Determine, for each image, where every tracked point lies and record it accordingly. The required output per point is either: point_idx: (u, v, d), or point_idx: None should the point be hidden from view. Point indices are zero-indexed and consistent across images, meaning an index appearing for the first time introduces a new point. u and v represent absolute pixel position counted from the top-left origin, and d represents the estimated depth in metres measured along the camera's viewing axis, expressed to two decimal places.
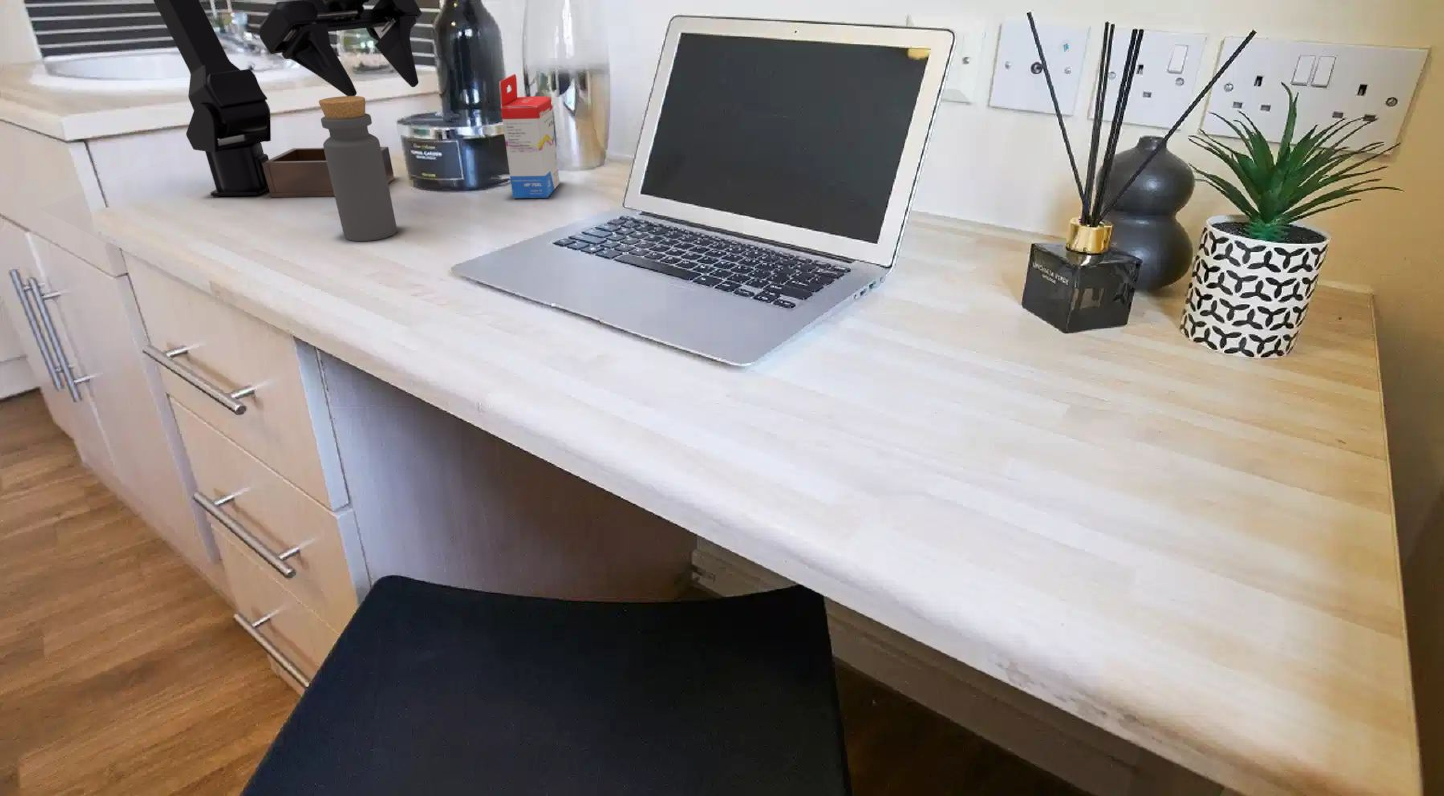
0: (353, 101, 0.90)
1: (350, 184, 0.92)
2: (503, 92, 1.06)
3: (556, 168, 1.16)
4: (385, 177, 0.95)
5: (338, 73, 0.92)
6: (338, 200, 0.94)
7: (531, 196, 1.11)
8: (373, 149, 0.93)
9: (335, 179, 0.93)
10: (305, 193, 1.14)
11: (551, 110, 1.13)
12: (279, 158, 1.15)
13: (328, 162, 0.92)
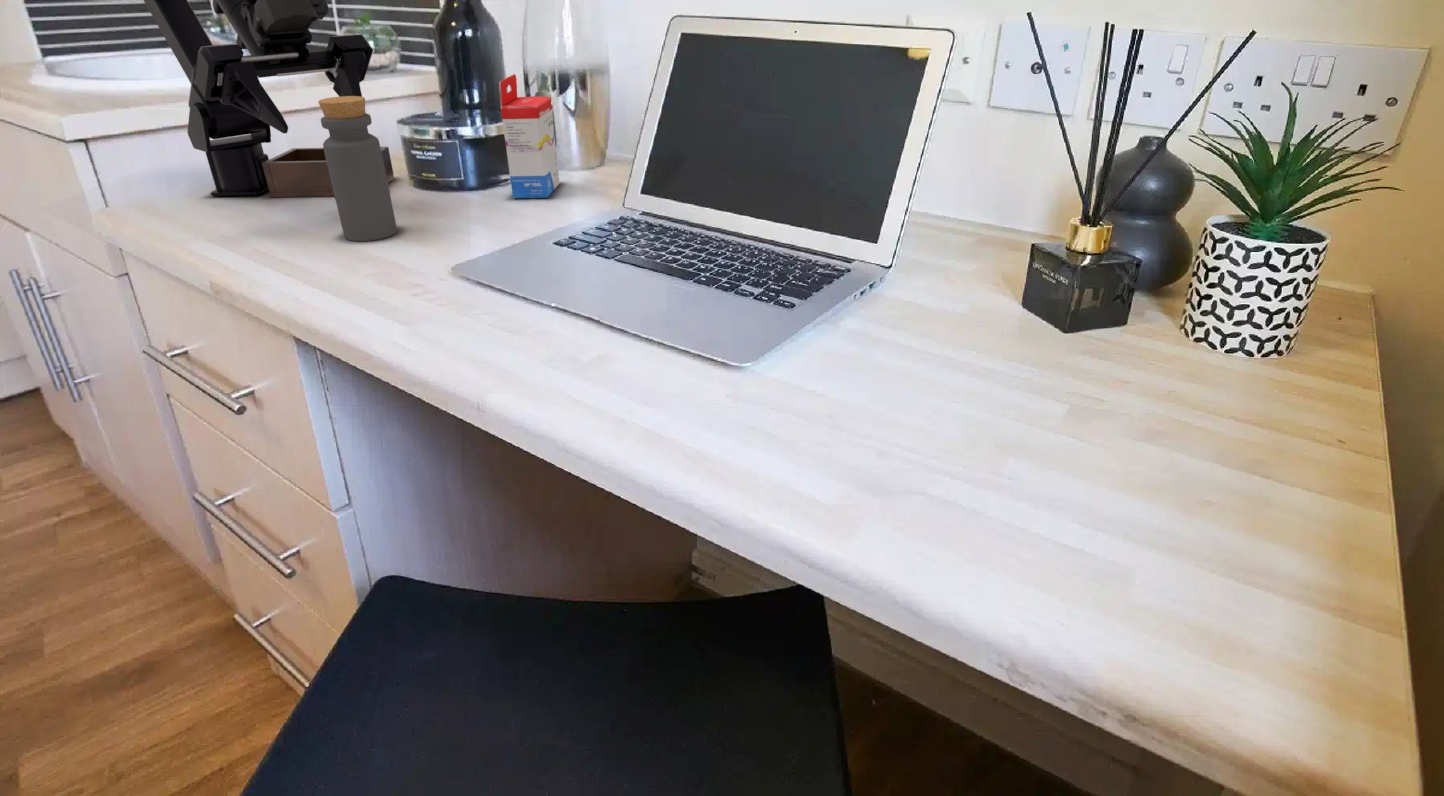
0: (353, 101, 0.90)
1: (350, 184, 0.92)
2: (503, 92, 1.06)
3: (556, 168, 1.16)
4: (385, 177, 0.95)
5: (267, 109, 0.91)
6: (338, 200, 0.94)
7: (531, 196, 1.11)
8: (372, 149, 0.93)
9: (335, 179, 0.93)
10: (305, 193, 1.14)
11: (551, 110, 1.13)
12: (279, 158, 1.15)
13: (328, 162, 0.92)
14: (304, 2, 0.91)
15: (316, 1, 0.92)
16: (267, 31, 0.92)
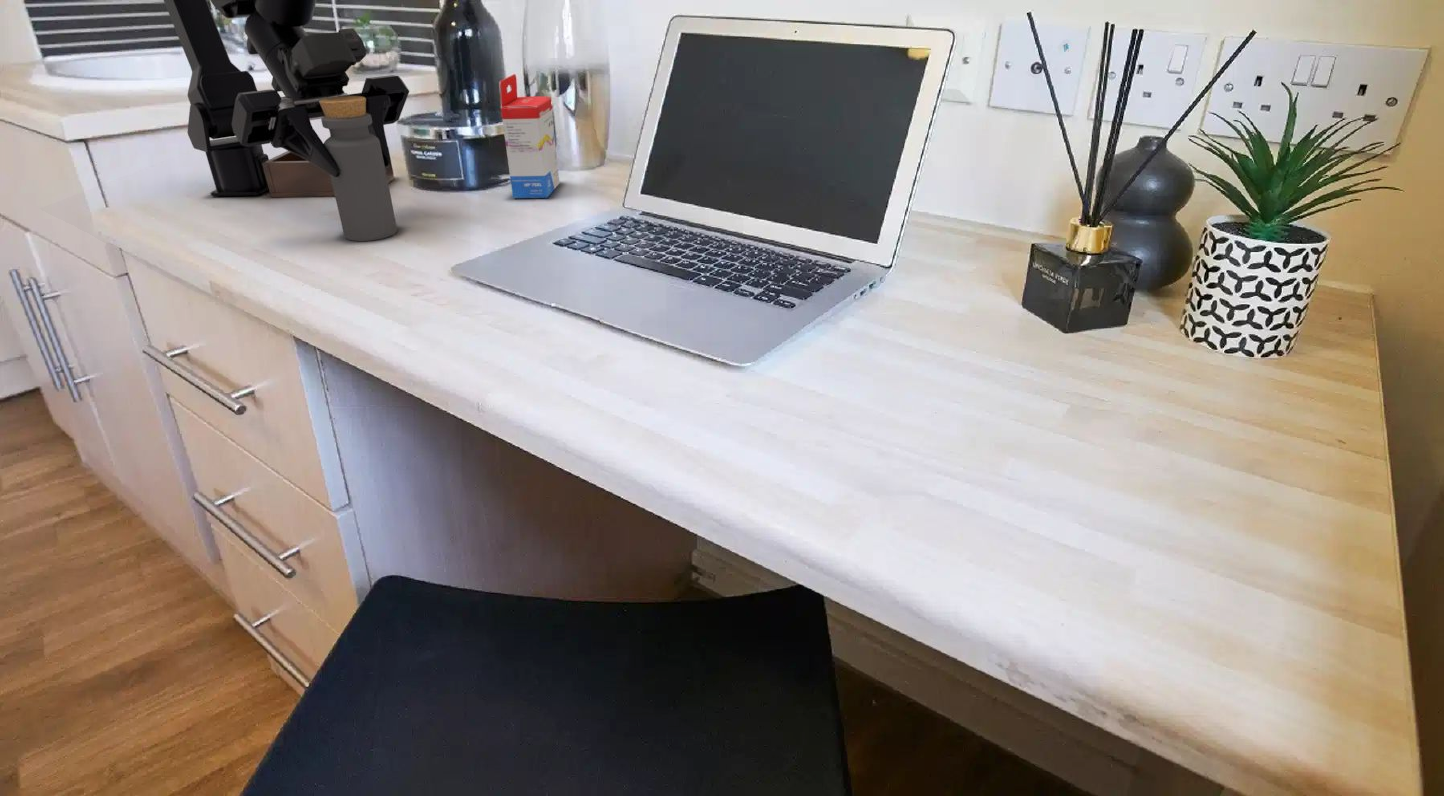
0: (353, 101, 0.90)
1: (351, 184, 0.92)
2: (503, 92, 1.06)
3: (556, 168, 1.16)
4: (385, 177, 0.95)
5: (319, 153, 0.91)
6: (338, 200, 0.94)
7: (531, 196, 1.11)
8: (373, 149, 0.93)
9: (335, 179, 0.93)
10: (305, 193, 1.14)
11: (551, 110, 1.13)
12: (279, 158, 1.15)
13: None
14: (343, 47, 0.89)
15: (355, 45, 0.90)
16: (305, 76, 0.90)
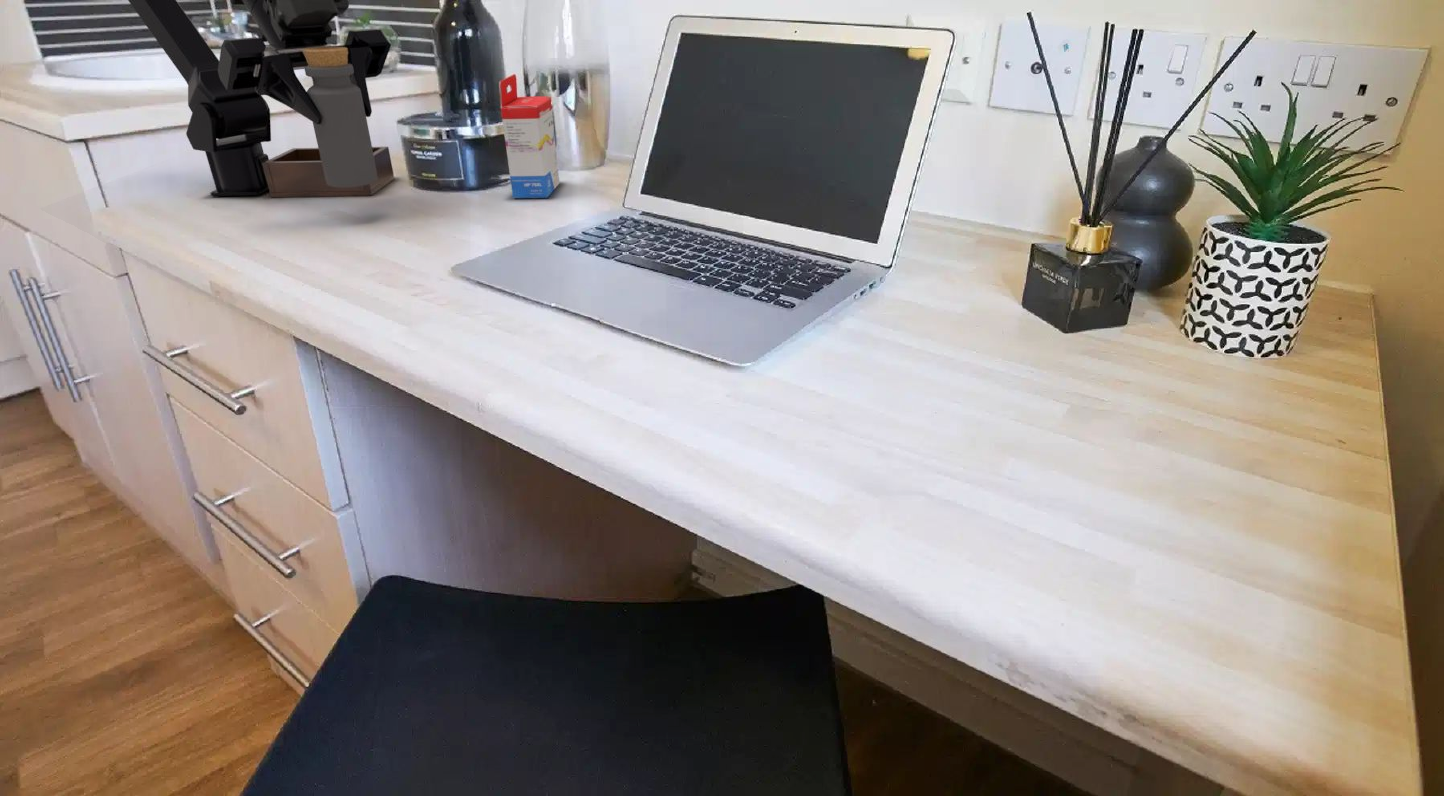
0: (335, 50, 0.93)
1: (332, 131, 0.96)
2: (503, 92, 1.06)
3: (556, 168, 1.16)
4: (366, 126, 0.99)
5: (302, 100, 0.94)
6: (320, 147, 0.98)
7: (531, 196, 1.11)
8: (354, 98, 0.96)
9: (317, 126, 0.96)
10: (305, 193, 1.14)
11: (551, 110, 1.13)
12: (279, 158, 1.15)
13: None
14: None
15: None
16: (289, 25, 0.94)
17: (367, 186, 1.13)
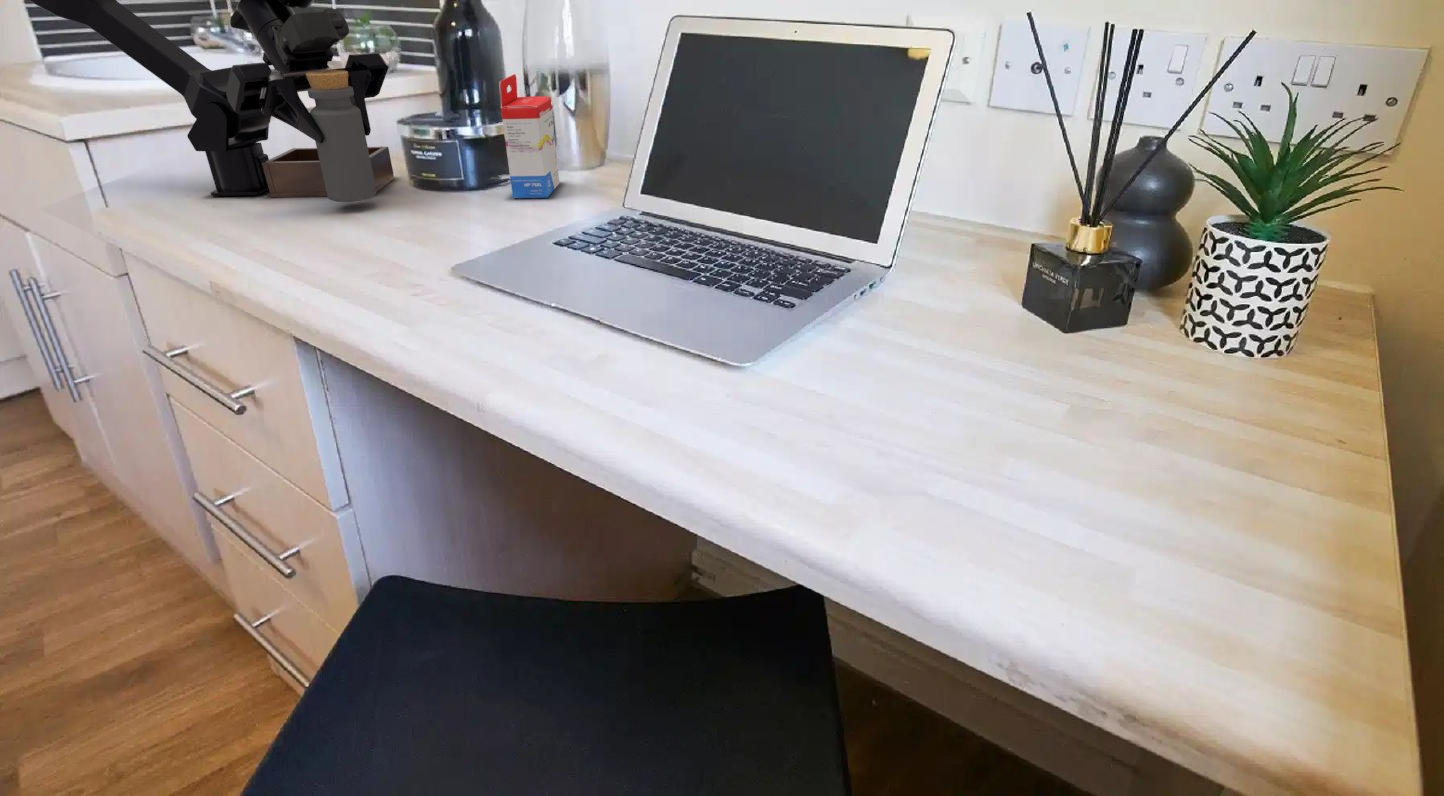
0: (337, 74, 1.00)
1: (334, 150, 1.02)
2: (503, 92, 1.06)
3: (556, 168, 1.16)
4: (365, 144, 1.05)
5: (306, 121, 1.00)
6: (322, 164, 1.04)
7: (531, 196, 1.11)
8: (354, 118, 1.03)
9: (320, 145, 1.03)
10: (305, 193, 1.14)
11: (551, 110, 1.13)
12: (279, 158, 1.15)
13: None
14: (327, 25, 0.99)
15: (338, 24, 1.00)
16: (293, 51, 1.00)
17: None
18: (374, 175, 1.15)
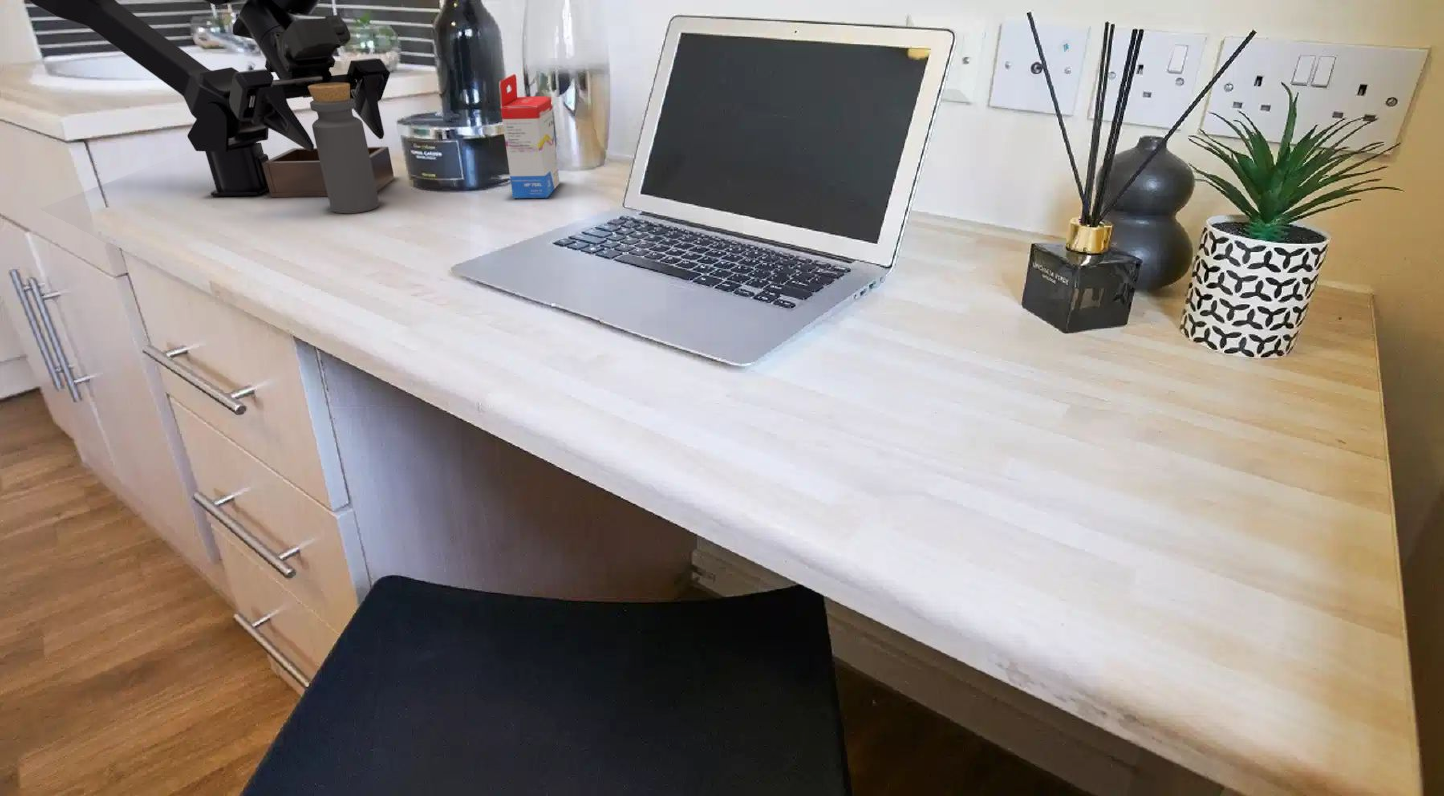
0: (338, 86, 1.00)
1: (336, 161, 1.03)
2: (503, 92, 1.06)
3: (556, 168, 1.16)
4: (368, 156, 1.06)
5: (295, 129, 1.00)
6: (325, 176, 1.04)
7: (531, 196, 1.11)
8: (356, 130, 1.03)
9: (322, 157, 1.03)
10: (305, 193, 1.14)
11: (551, 110, 1.13)
12: (279, 158, 1.15)
13: (317, 141, 1.03)
14: (329, 31, 0.99)
15: (340, 30, 1.01)
16: (295, 57, 1.00)
17: None
18: (374, 175, 1.15)
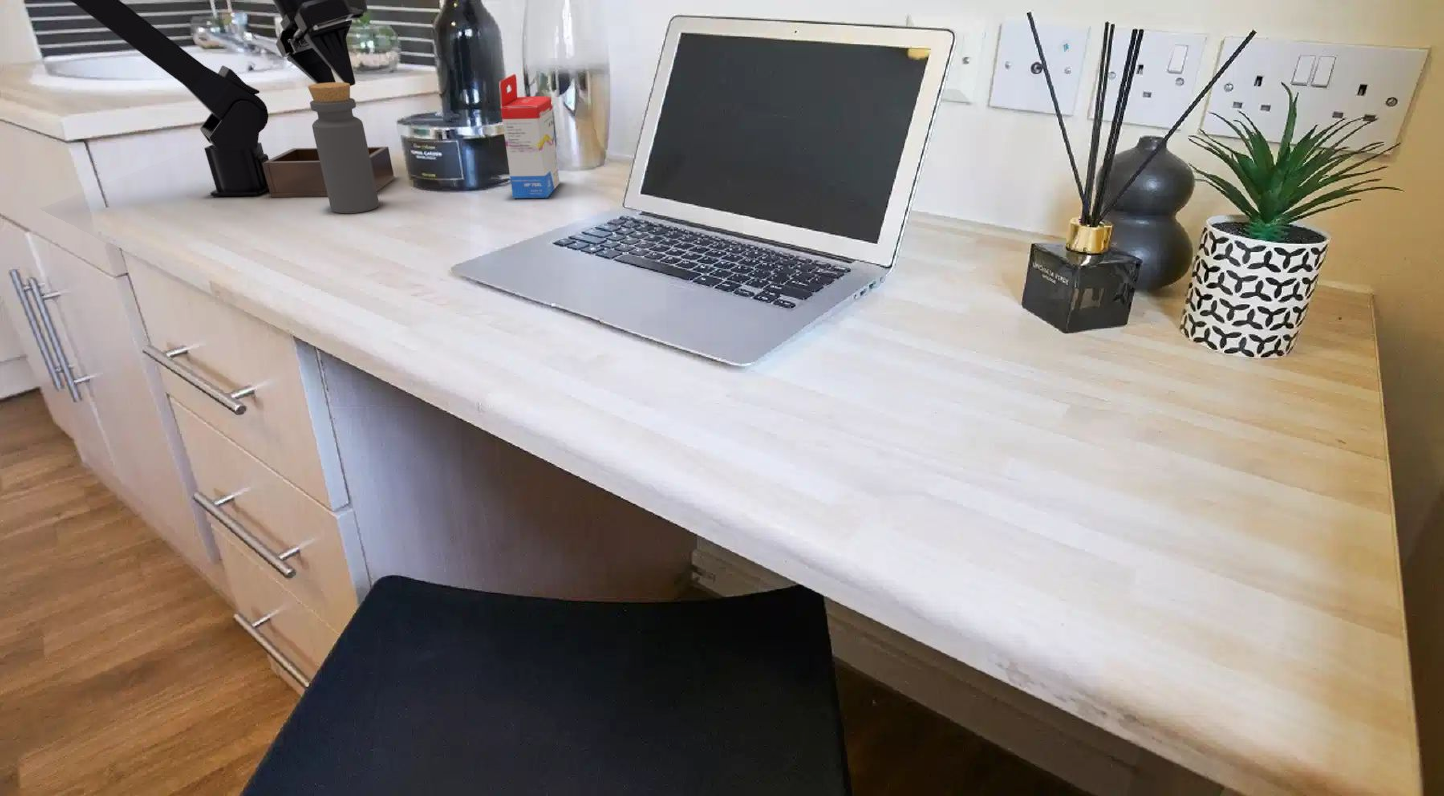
0: (339, 86, 1.00)
1: (336, 161, 1.03)
2: (503, 92, 1.06)
3: (556, 168, 1.16)
4: (368, 156, 1.06)
5: (350, 63, 1.11)
6: (325, 176, 1.04)
7: (531, 196, 1.11)
8: (356, 130, 1.03)
9: (322, 157, 1.03)
10: (305, 193, 1.14)
11: (551, 110, 1.13)
12: (279, 158, 1.15)
13: (317, 141, 1.03)
14: None
15: None
16: None
17: None
18: (374, 175, 1.15)
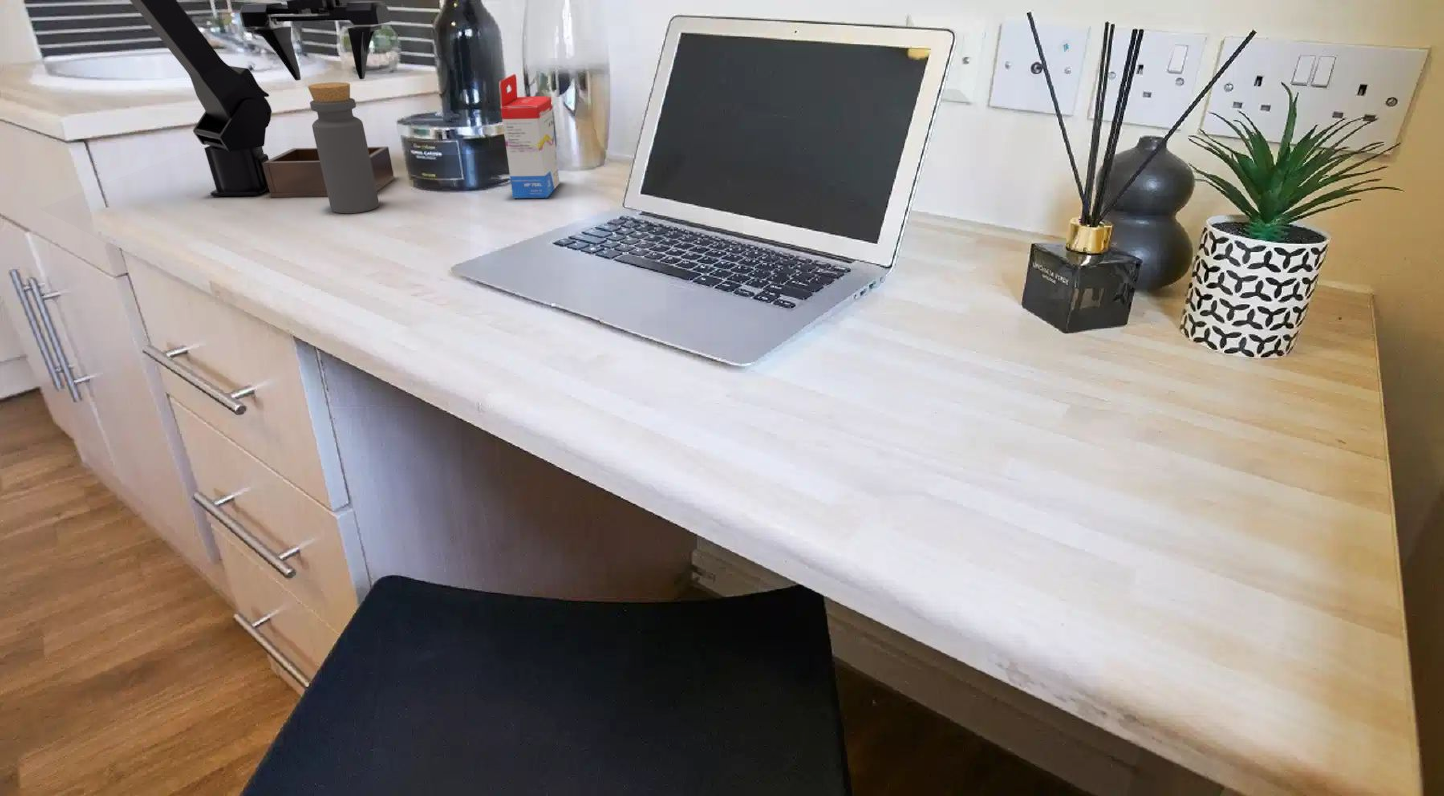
0: (339, 86, 1.00)
1: (336, 161, 1.03)
2: (503, 92, 1.06)
3: (556, 168, 1.16)
4: (368, 156, 1.06)
5: (366, 60, 1.21)
6: (325, 176, 1.04)
7: (531, 196, 1.11)
8: (356, 130, 1.03)
9: (322, 157, 1.03)
10: (305, 193, 1.14)
11: (551, 110, 1.13)
12: (279, 158, 1.15)
13: (317, 141, 1.03)
14: None
15: None
16: None
17: None
18: (374, 175, 1.15)
